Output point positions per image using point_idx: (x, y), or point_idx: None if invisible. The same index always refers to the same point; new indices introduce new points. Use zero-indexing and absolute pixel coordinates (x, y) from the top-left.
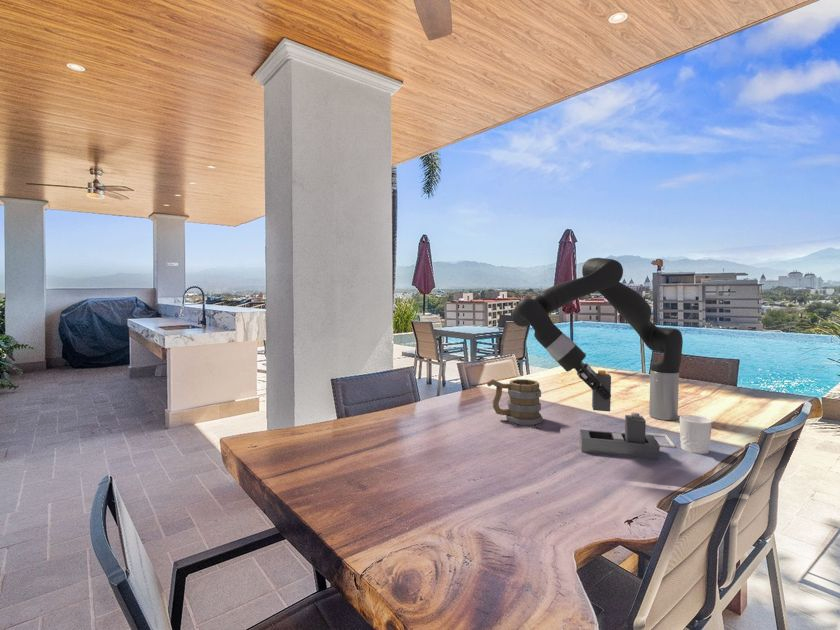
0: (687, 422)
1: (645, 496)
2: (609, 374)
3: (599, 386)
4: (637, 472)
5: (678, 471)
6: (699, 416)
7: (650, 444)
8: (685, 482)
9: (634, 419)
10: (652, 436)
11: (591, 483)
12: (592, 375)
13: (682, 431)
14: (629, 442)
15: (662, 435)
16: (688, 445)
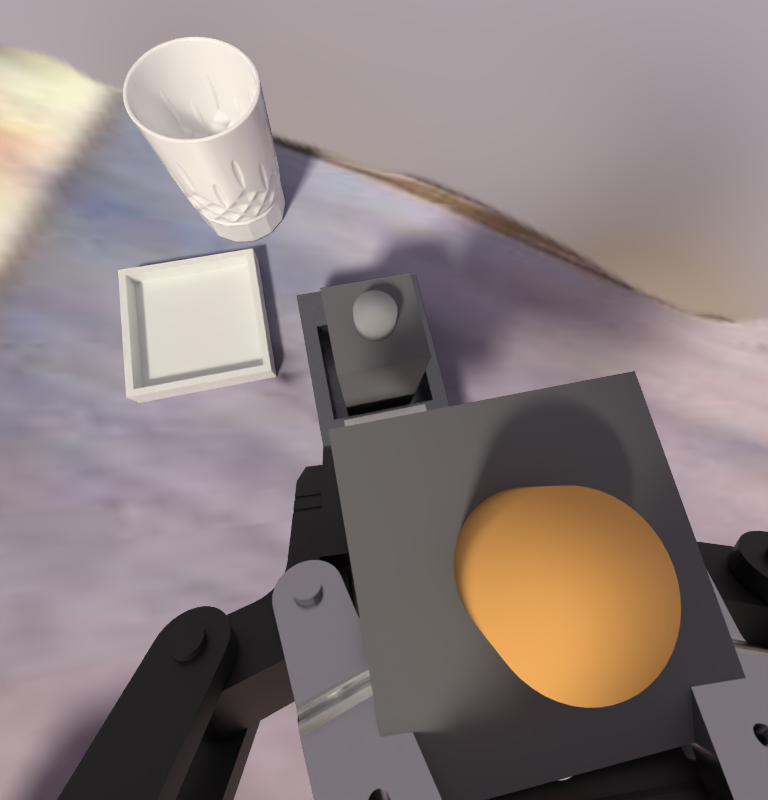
0: (248, 125)
1: (691, 346)
2: (399, 419)
3: (704, 545)
4: (528, 370)
5: (450, 261)
6: (135, 69)
7: (422, 305)
8: (526, 249)
9: (410, 324)
10: (310, 297)
11: (707, 499)
12: (679, 773)
13: (239, 182)
14: (440, 380)
15: (127, 284)
16: (272, 202)
